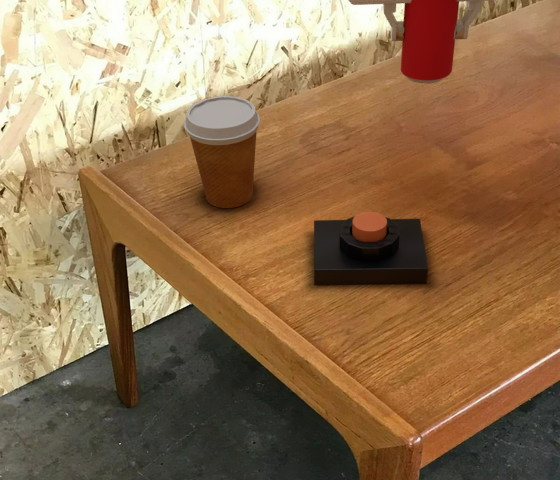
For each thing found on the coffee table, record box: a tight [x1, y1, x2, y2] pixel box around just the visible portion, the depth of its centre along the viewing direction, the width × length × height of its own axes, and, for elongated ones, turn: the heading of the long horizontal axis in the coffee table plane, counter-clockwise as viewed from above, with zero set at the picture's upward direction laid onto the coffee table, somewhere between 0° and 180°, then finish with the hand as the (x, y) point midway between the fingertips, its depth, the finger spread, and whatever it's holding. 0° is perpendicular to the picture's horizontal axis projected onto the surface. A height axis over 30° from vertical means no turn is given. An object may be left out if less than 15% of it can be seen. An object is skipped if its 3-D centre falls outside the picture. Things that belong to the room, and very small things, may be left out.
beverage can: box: [400, 0, 460, 85], centre depth 94 cm, size 6×6×12 cm
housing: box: [313, 215, 429, 286], centre depth 94 cm, size 13×10×4 cm
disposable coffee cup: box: [183, 95, 261, 209], centre depth 102 cm, size 10×10×12 cm
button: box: [352, 211, 387, 242], centre depth 92 cm, size 4×4×2 cm
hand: (428, 38), depth 95 cm, fingers closed on beverage can, 6 cm apart
